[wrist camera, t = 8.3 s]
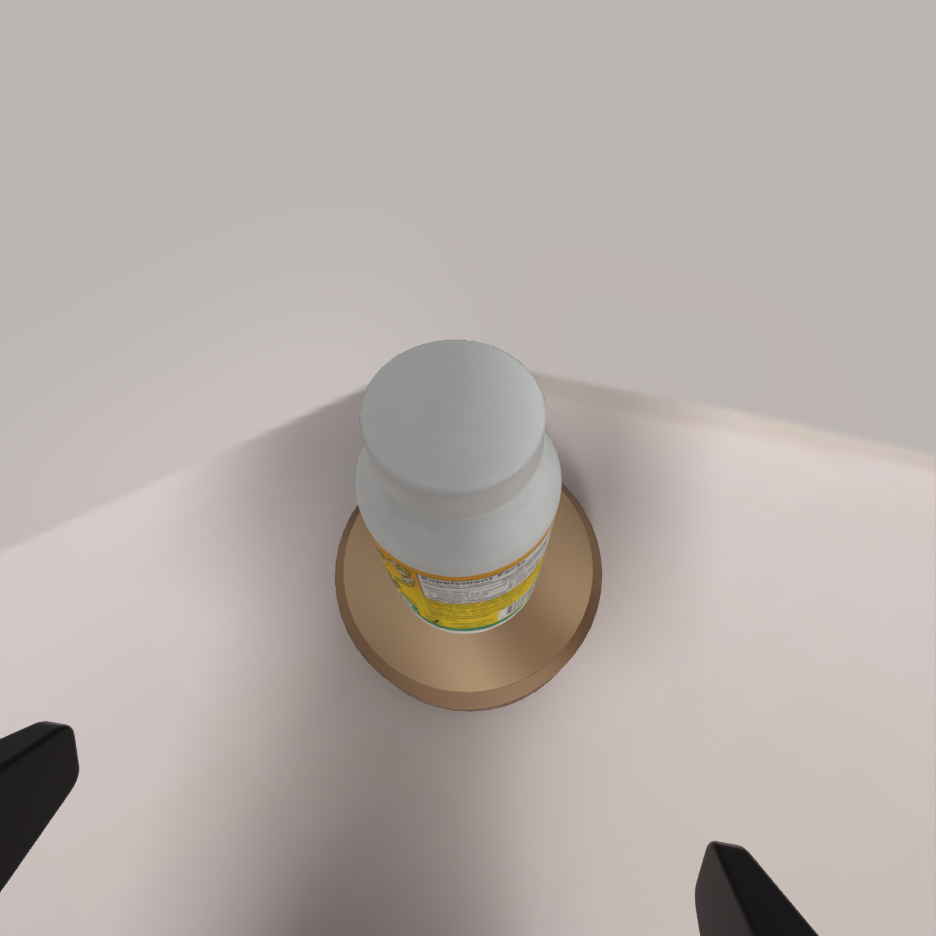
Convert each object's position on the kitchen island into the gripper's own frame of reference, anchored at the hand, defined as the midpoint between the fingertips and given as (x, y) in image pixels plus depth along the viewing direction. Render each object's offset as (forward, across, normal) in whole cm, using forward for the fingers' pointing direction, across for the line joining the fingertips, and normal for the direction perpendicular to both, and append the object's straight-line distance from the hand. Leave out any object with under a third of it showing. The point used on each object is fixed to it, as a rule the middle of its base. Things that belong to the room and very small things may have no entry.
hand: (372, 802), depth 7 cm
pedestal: (+14, 0, +4) cm, 15 cm away
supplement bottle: (+12, 0, +2) cm, 13 cm away
